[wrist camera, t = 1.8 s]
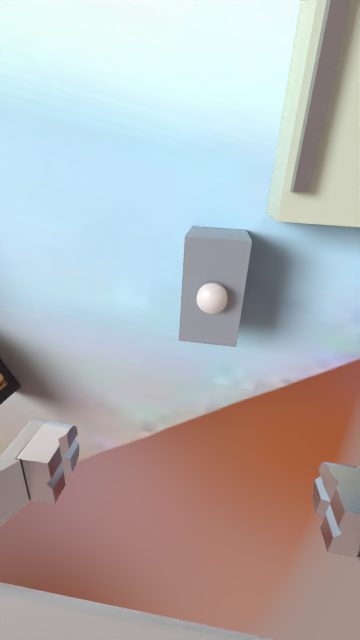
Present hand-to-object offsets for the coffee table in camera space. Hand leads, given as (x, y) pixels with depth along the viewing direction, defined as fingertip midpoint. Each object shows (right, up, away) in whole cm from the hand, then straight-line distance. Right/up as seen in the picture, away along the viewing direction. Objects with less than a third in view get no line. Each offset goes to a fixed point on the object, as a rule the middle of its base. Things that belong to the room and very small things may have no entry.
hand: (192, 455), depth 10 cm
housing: (+3, +9, +19) cm, 22 cm away
